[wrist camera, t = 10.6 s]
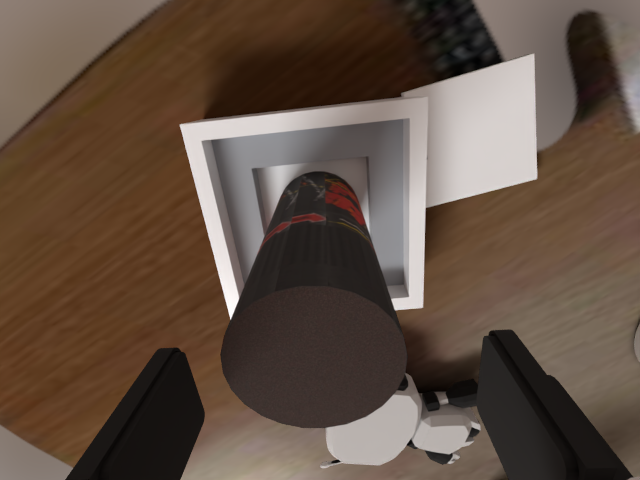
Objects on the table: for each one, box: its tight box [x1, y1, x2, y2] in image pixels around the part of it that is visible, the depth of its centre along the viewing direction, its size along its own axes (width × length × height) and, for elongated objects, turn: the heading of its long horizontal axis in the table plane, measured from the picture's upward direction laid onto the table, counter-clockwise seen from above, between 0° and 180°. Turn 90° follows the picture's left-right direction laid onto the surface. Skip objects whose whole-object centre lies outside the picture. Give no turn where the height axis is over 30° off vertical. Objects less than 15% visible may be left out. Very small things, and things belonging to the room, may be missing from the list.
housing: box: [180, 96, 428, 319], centre depth 23 cm, size 14×14×4 cm
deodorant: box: [220, 171, 408, 428], centre depth 17 cm, size 6×6×15 cm
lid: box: [401, 54, 537, 208], centre depth 23 cm, size 10×8×1 cm
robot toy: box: [320, 373, 481, 468], centre depth 31 cm, size 12×4×15 cm
